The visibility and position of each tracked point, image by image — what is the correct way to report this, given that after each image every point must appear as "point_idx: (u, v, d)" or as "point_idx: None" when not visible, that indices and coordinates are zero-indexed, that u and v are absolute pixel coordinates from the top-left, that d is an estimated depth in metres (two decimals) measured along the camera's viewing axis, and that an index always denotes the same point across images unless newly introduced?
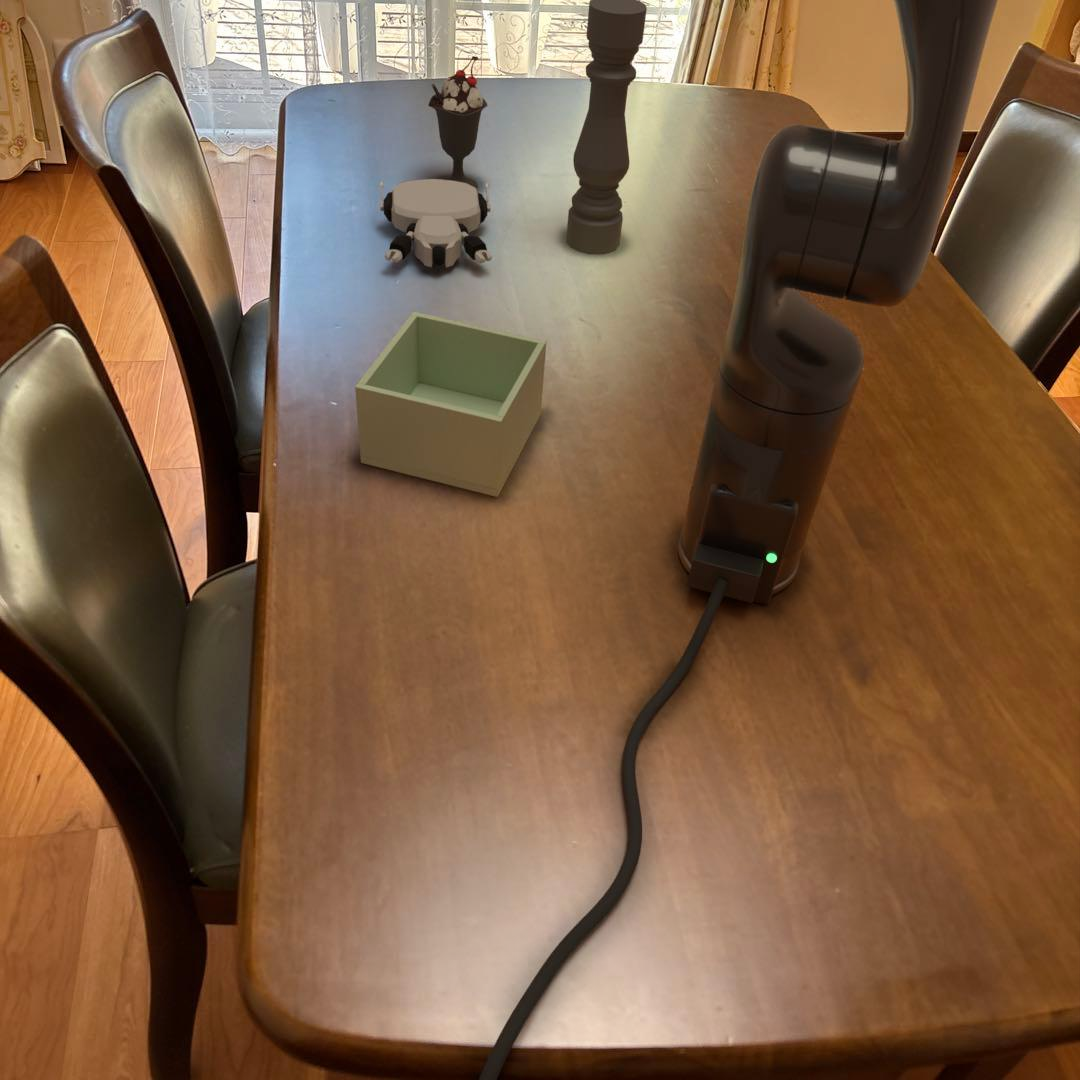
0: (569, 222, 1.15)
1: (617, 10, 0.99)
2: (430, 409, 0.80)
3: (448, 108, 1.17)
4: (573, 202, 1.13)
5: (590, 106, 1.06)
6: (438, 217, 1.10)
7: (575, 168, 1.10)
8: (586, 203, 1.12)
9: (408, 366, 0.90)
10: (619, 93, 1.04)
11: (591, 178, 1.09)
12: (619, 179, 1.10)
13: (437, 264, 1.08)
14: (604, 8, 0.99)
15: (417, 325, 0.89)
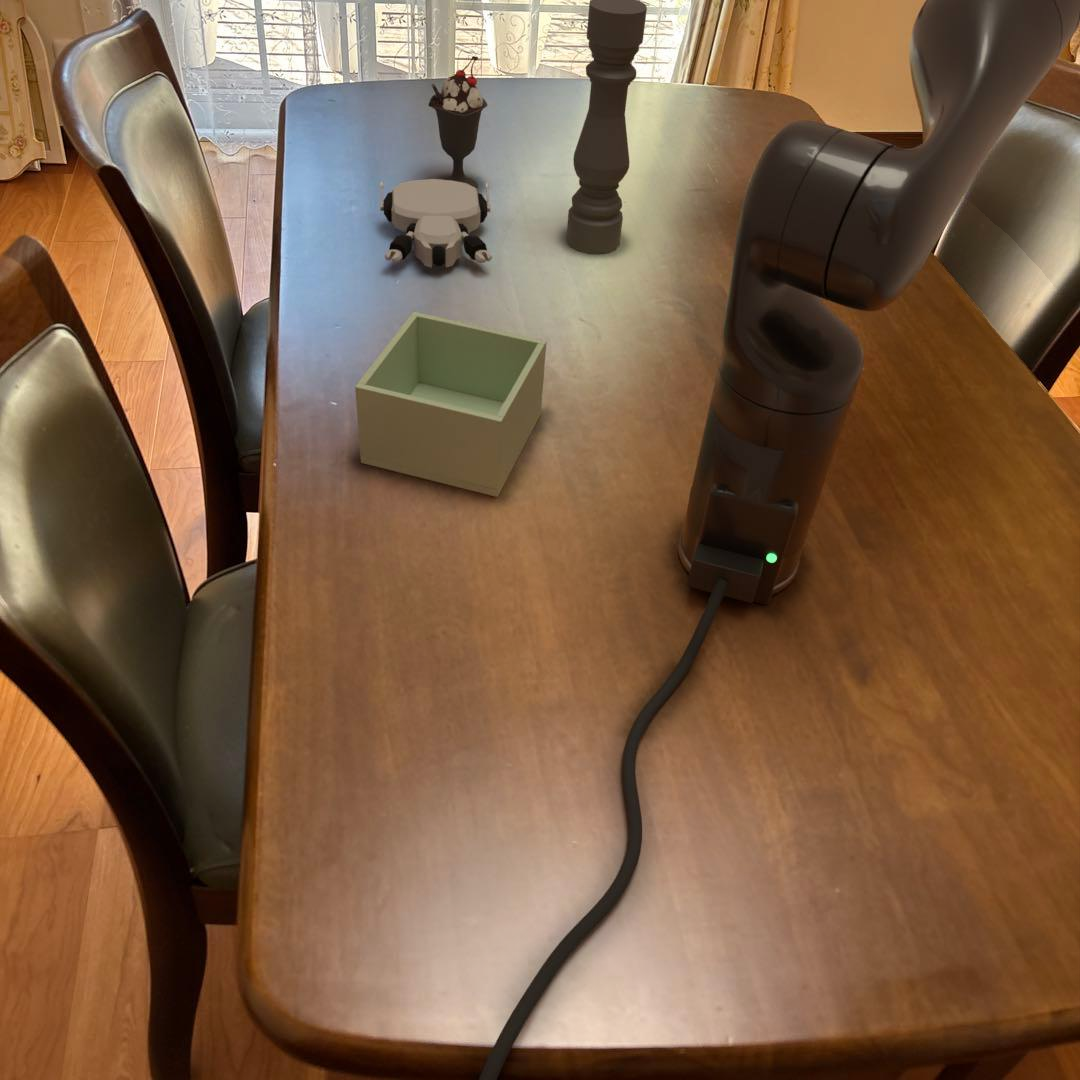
0: (569, 222, 1.15)
1: (617, 10, 0.99)
2: (430, 409, 0.80)
3: (448, 108, 1.17)
4: (573, 202, 1.13)
5: (590, 106, 1.06)
6: (438, 217, 1.10)
7: (575, 168, 1.10)
8: (586, 203, 1.12)
9: (408, 366, 0.90)
10: (619, 93, 1.04)
11: (591, 178, 1.09)
12: (619, 179, 1.10)
13: (437, 264, 1.08)
14: (604, 8, 0.99)
15: (417, 325, 0.89)
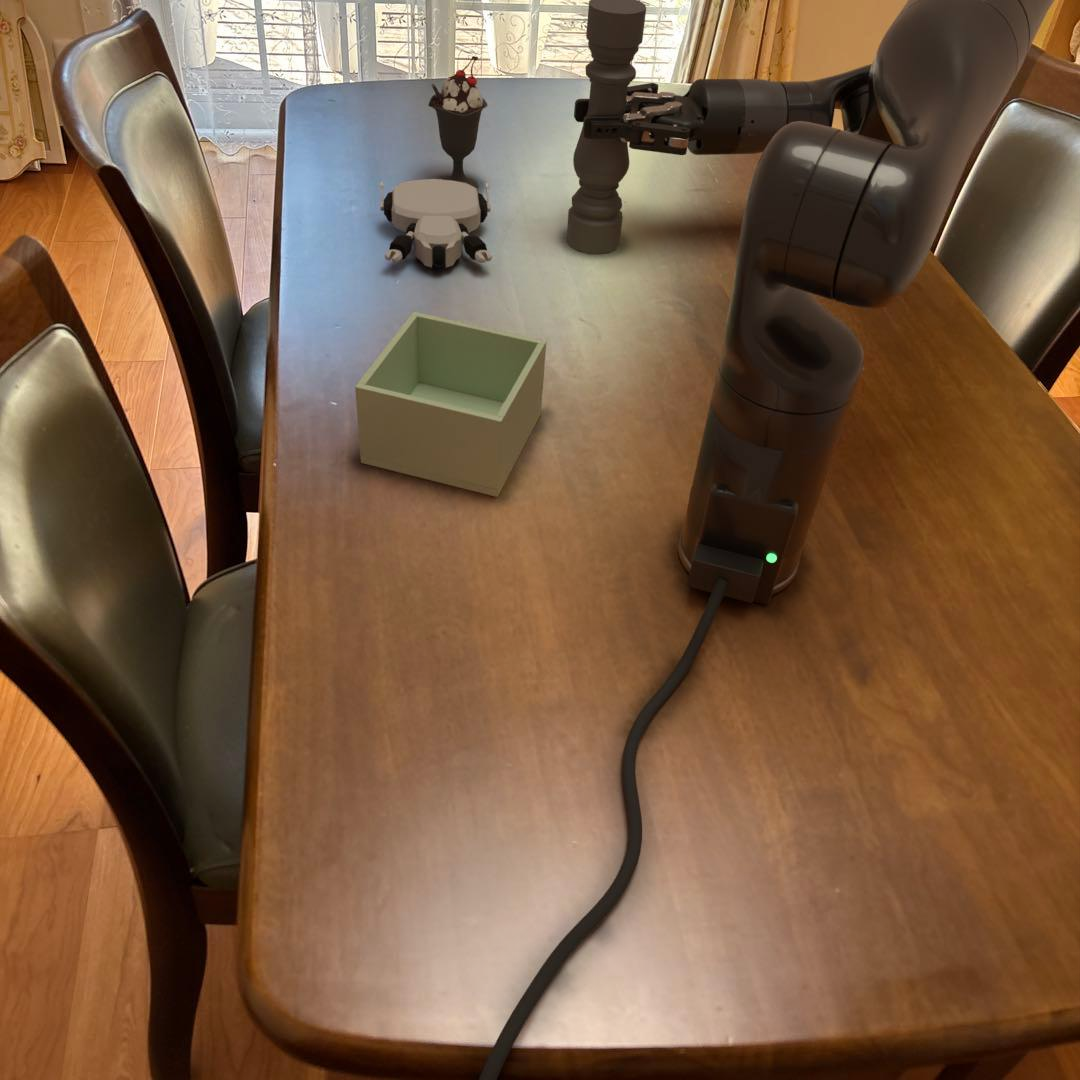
0: (569, 222, 1.15)
1: (617, 10, 0.99)
2: (430, 409, 0.80)
3: (448, 108, 1.17)
4: (573, 202, 1.13)
5: (590, 106, 1.06)
6: (438, 217, 1.10)
7: (575, 168, 1.10)
8: (586, 203, 1.12)
9: (408, 366, 0.90)
10: (619, 93, 1.04)
11: (591, 178, 1.09)
12: (619, 179, 1.10)
13: (437, 264, 1.08)
14: (604, 8, 0.99)
15: (417, 325, 0.89)
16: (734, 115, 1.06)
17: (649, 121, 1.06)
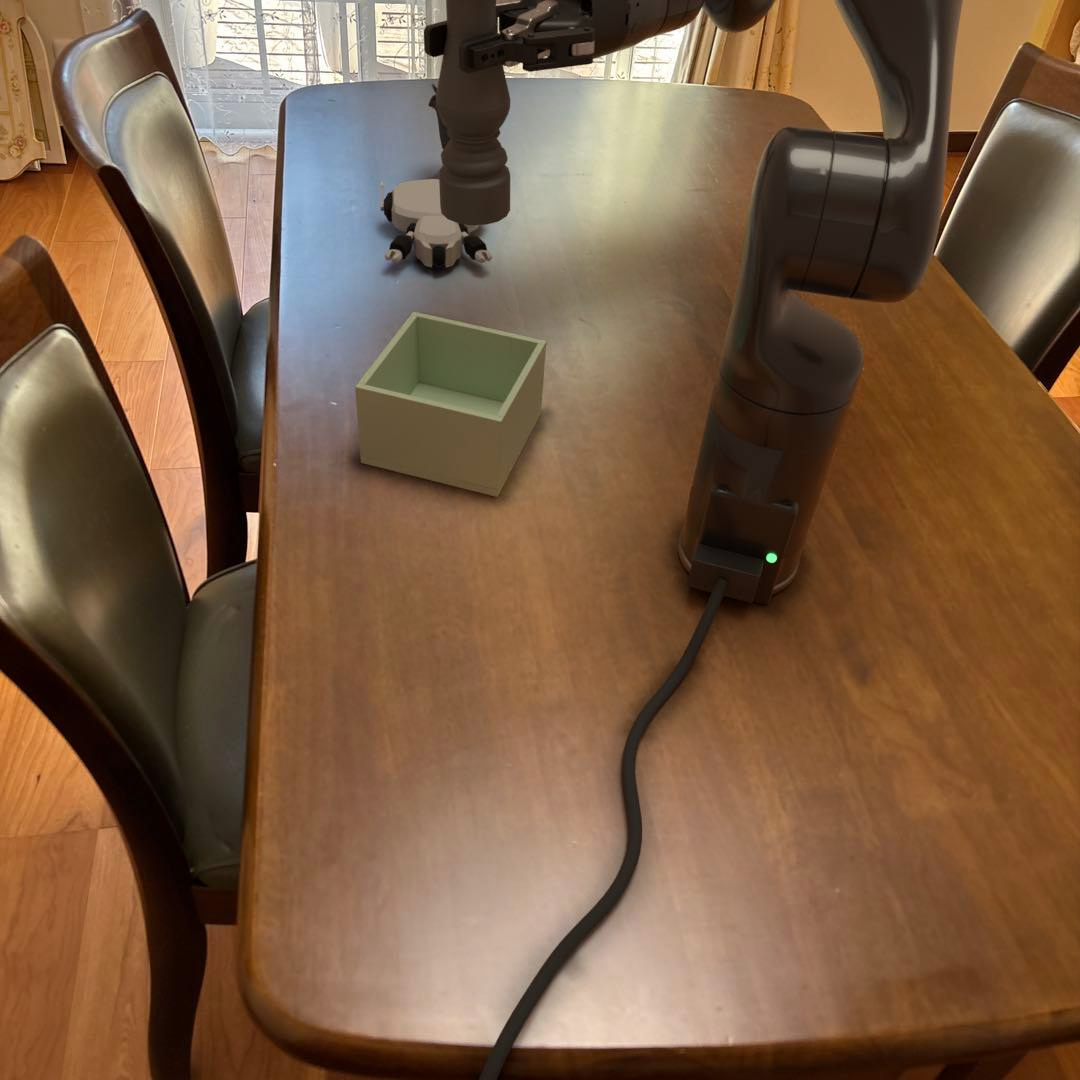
0: (449, 192, 0.87)
1: None
2: (430, 409, 0.80)
3: None
4: (450, 165, 0.86)
5: (455, 30, 0.79)
6: (438, 217, 1.10)
7: (448, 119, 0.83)
8: (472, 161, 0.85)
9: (408, 366, 0.90)
10: (492, 2, 0.78)
11: (477, 125, 0.82)
12: (505, 118, 0.84)
13: (437, 264, 1.08)
14: None
15: (417, 325, 0.89)
16: (619, 1, 0.84)
17: (532, 31, 0.81)
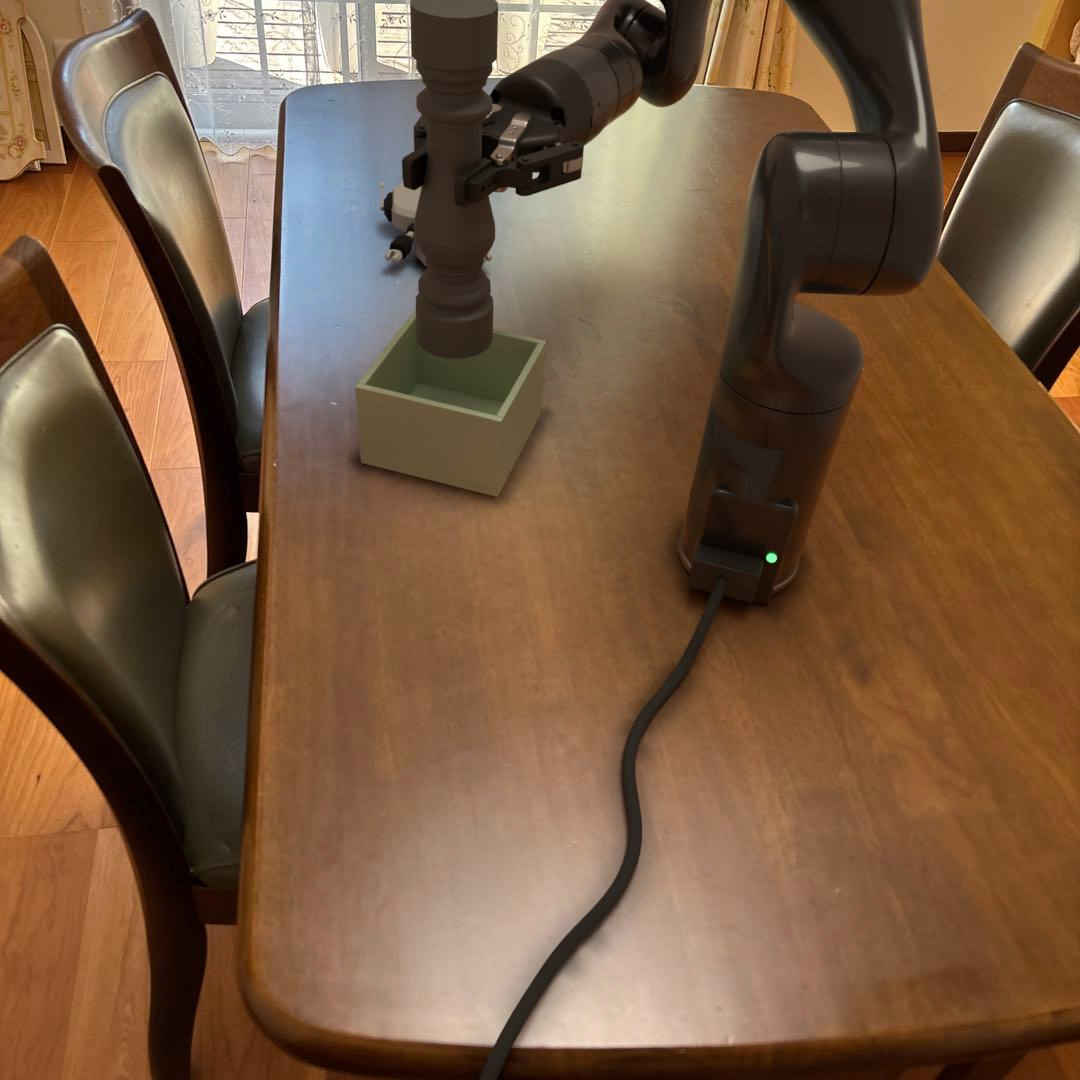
0: (436, 328, 0.79)
1: (473, 11, 0.64)
2: (430, 409, 0.80)
3: None
4: (437, 300, 0.77)
5: (443, 161, 0.71)
6: None
7: (437, 254, 0.74)
8: (462, 293, 0.77)
9: (408, 366, 0.90)
10: (481, 128, 0.70)
11: (470, 257, 0.75)
12: None
13: None
14: (455, 13, 0.64)
15: None
16: (584, 104, 0.79)
17: (516, 151, 0.74)
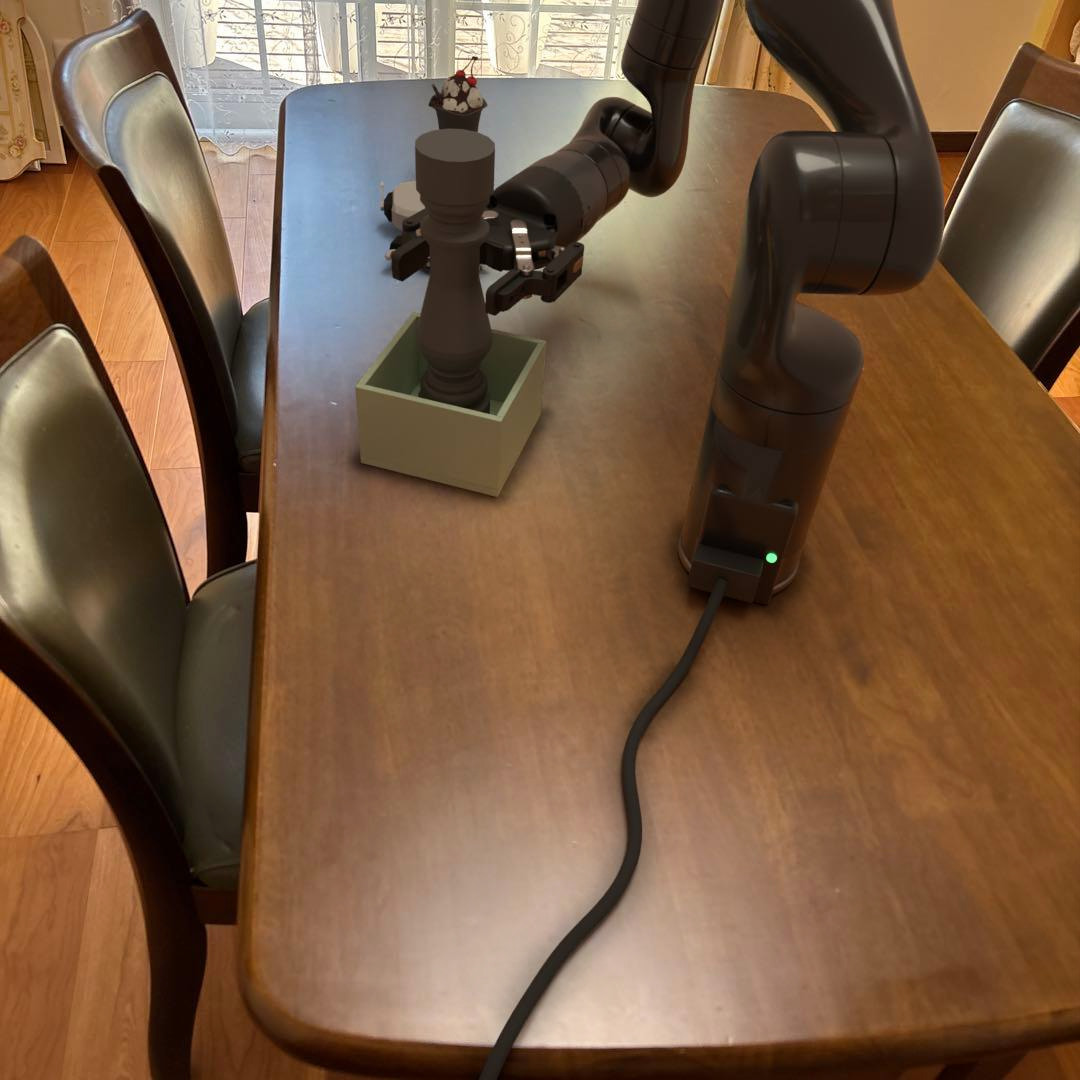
0: None
1: (472, 153, 0.71)
2: (430, 409, 0.80)
3: (448, 108, 1.17)
4: (438, 399, 0.84)
5: (444, 280, 0.77)
6: None
7: (437, 360, 0.81)
8: (460, 393, 0.84)
9: (408, 366, 0.90)
10: (479, 250, 0.77)
11: (469, 363, 0.81)
12: None
13: None
14: (456, 156, 0.70)
15: (417, 325, 0.89)
16: (575, 209, 0.85)
17: None
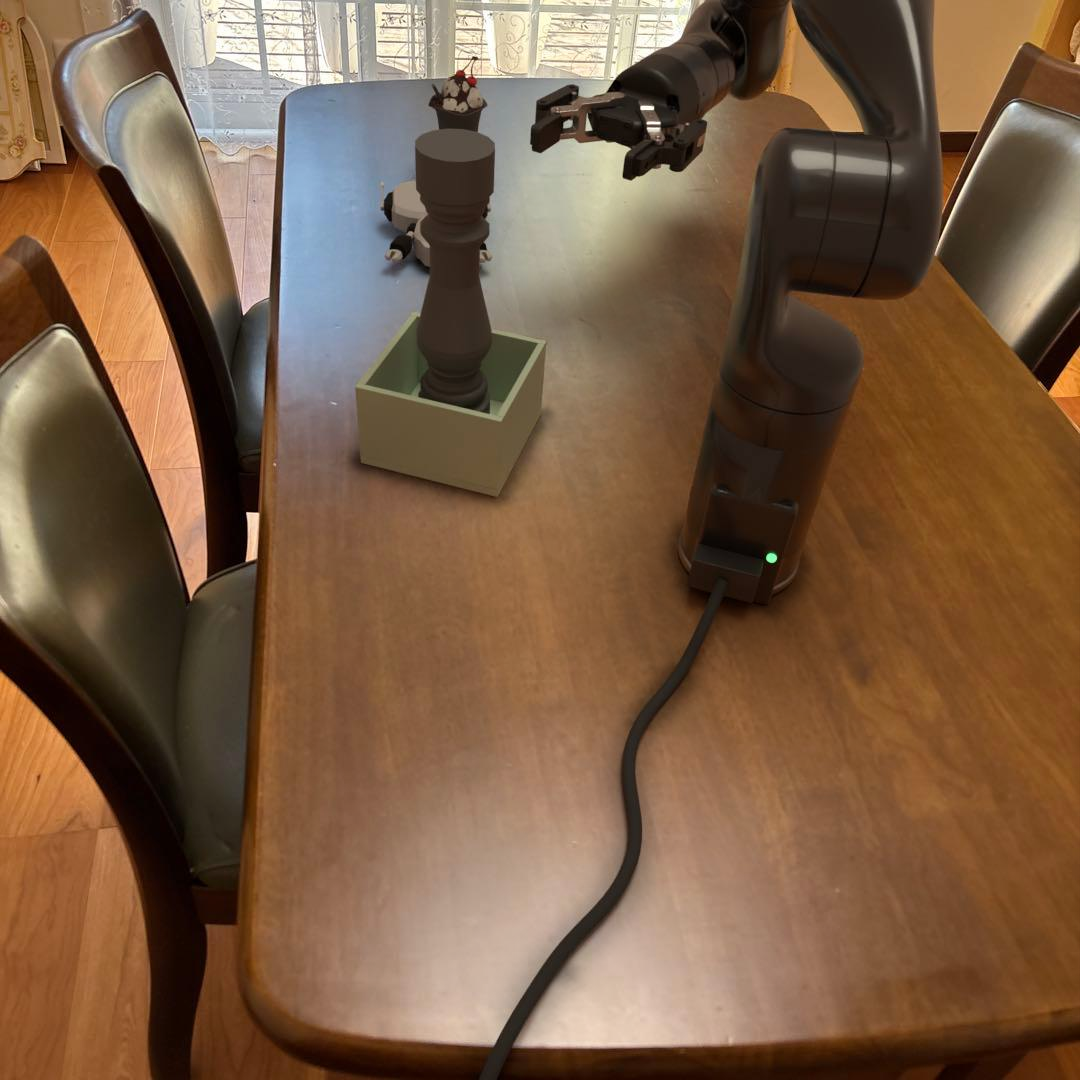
0: None
1: (472, 153, 0.71)
2: (430, 409, 0.80)
3: (448, 108, 1.17)
4: (438, 399, 0.84)
5: (444, 280, 0.77)
6: None
7: (437, 360, 0.81)
8: (460, 393, 0.84)
9: (408, 366, 0.90)
10: (479, 250, 0.77)
11: (469, 363, 0.81)
12: None
13: None
14: (456, 156, 0.70)
15: (417, 325, 0.89)
16: (693, 93, 0.91)
17: None
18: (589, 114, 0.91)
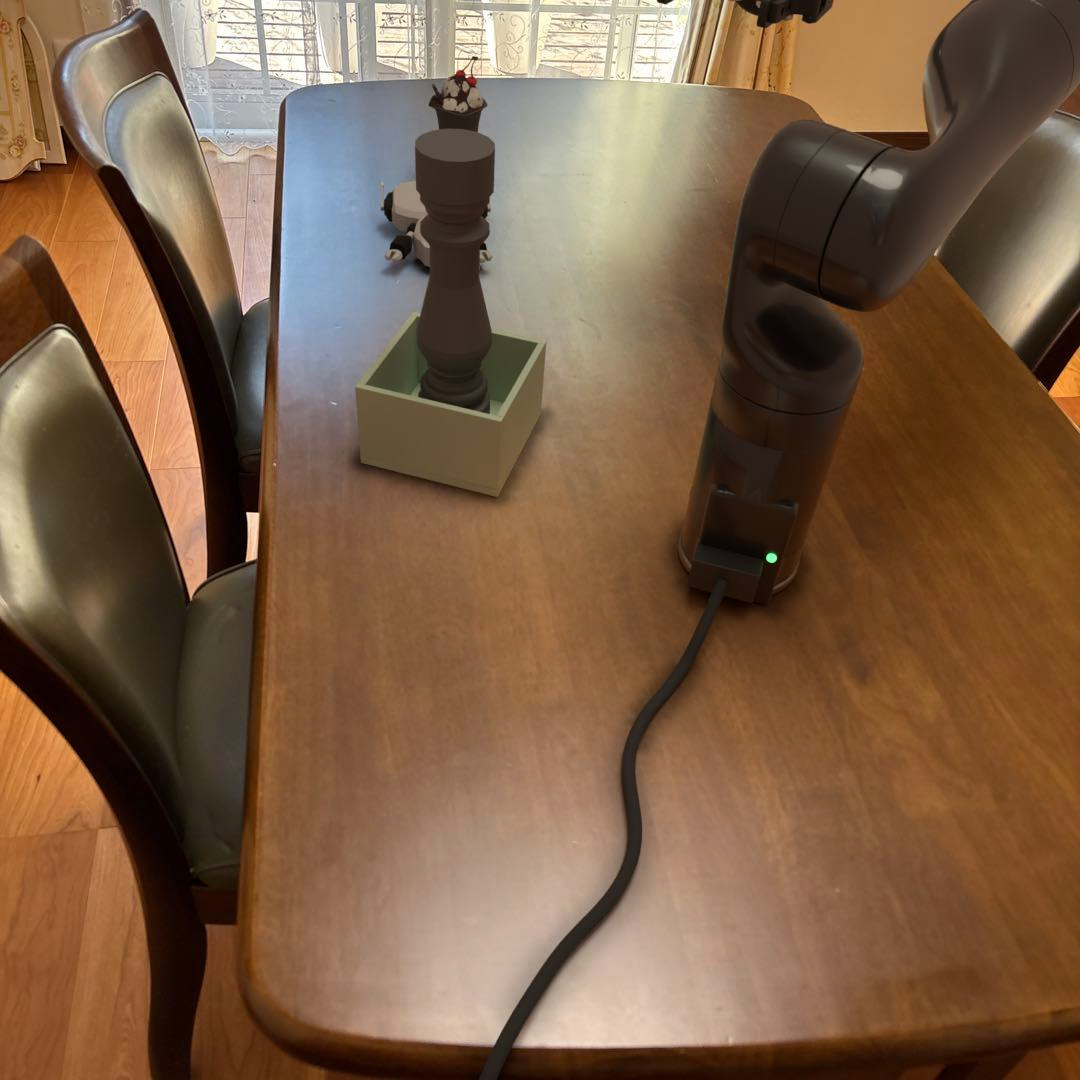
0: None
1: (472, 153, 0.71)
2: (430, 409, 0.80)
3: (448, 108, 1.17)
4: (438, 399, 0.84)
5: (444, 280, 0.77)
6: None
7: (437, 360, 0.81)
8: (460, 393, 0.84)
9: (408, 366, 0.90)
10: (479, 250, 0.77)
11: (469, 363, 0.81)
12: None
13: None
14: (456, 156, 0.70)
15: (417, 325, 0.89)
16: None
17: None
18: None
